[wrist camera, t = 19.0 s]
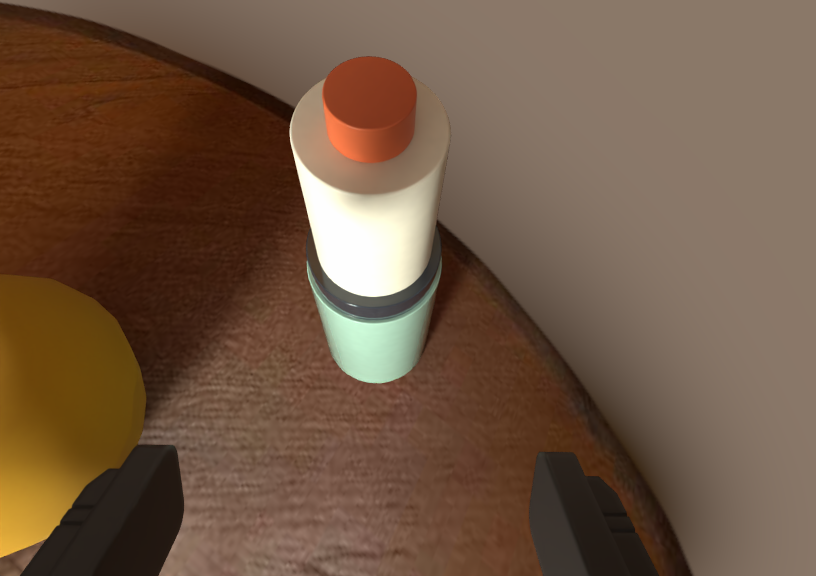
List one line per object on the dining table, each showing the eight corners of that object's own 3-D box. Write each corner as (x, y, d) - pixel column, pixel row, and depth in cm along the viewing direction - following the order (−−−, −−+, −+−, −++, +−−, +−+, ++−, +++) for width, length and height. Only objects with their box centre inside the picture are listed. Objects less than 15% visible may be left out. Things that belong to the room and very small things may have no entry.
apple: (112, 592, 29) (-45, 630, 18) (-111, 511, 30) (-381, 501, 19) (220, 359, 34) (145, 282, 23) (26, 297, 35) (-129, 196, 24)
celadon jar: (441, 315, 35) (468, 218, 24) (398, 400, 33) (406, 336, 22) (357, 275, 36) (345, 164, 25) (310, 355, 34) (274, 272, 23)
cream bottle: (450, 223, 24) (484, 64, 16) (399, 317, 22) (409, 193, 14) (351, 179, 25) (335, 5, 17) (295, 266, 23) (245, 119, 15)
